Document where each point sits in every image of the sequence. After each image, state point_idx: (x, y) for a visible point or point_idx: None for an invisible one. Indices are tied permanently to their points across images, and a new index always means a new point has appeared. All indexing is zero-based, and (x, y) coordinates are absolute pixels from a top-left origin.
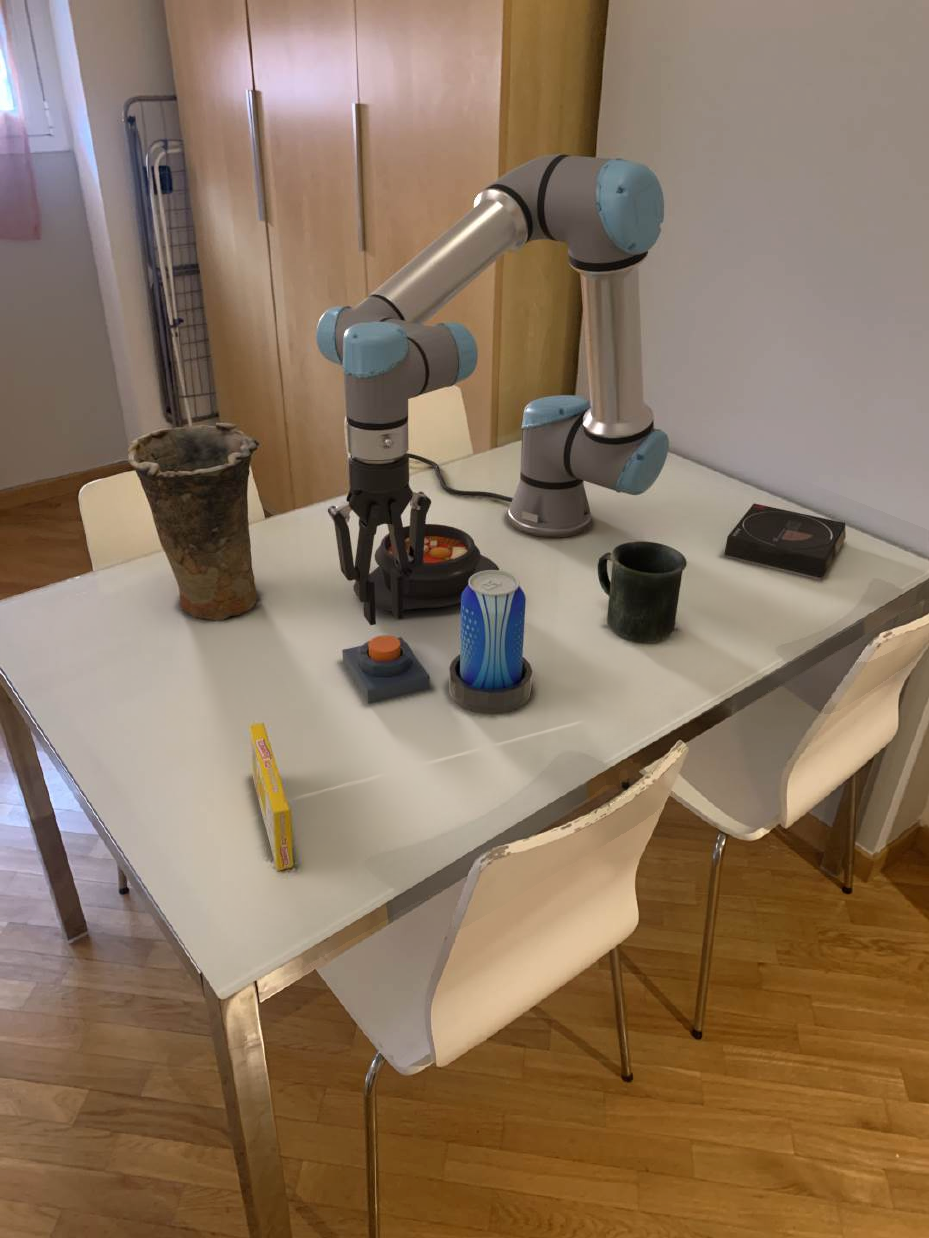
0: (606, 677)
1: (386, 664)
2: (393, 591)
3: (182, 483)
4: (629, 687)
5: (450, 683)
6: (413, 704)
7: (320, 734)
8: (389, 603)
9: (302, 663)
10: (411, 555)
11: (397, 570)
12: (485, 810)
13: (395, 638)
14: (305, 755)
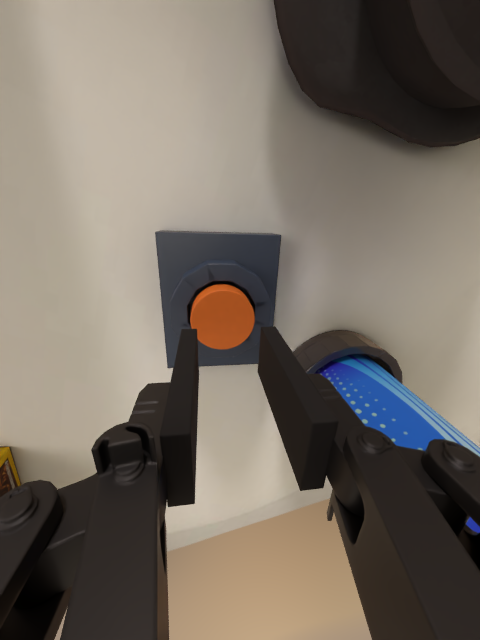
0: (451, 393)
1: (210, 352)
2: (278, 385)
3: None
4: (453, 413)
5: None
6: (229, 373)
7: (89, 394)
8: (325, 62)
9: (79, 197)
10: (454, 504)
11: (331, 445)
12: (227, 517)
13: (250, 312)
14: (64, 424)
